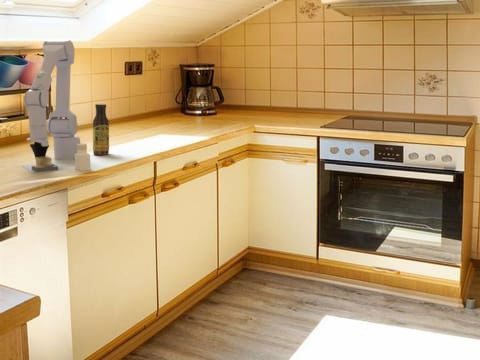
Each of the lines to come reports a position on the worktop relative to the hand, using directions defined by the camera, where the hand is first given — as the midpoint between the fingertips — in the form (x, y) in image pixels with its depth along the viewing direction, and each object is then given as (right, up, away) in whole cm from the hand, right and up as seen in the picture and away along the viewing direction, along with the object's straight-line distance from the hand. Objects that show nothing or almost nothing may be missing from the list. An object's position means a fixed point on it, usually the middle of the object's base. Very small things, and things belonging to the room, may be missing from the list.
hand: (40, 164), depth 217 cm
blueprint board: (+1, -2, -1) cm, 2 cm away
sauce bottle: (+15, +4, +30) cm, 34 cm away
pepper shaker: (+15, -3, -3) cm, 16 cm away
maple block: (+2, -2, -3) cm, 4 cm away
